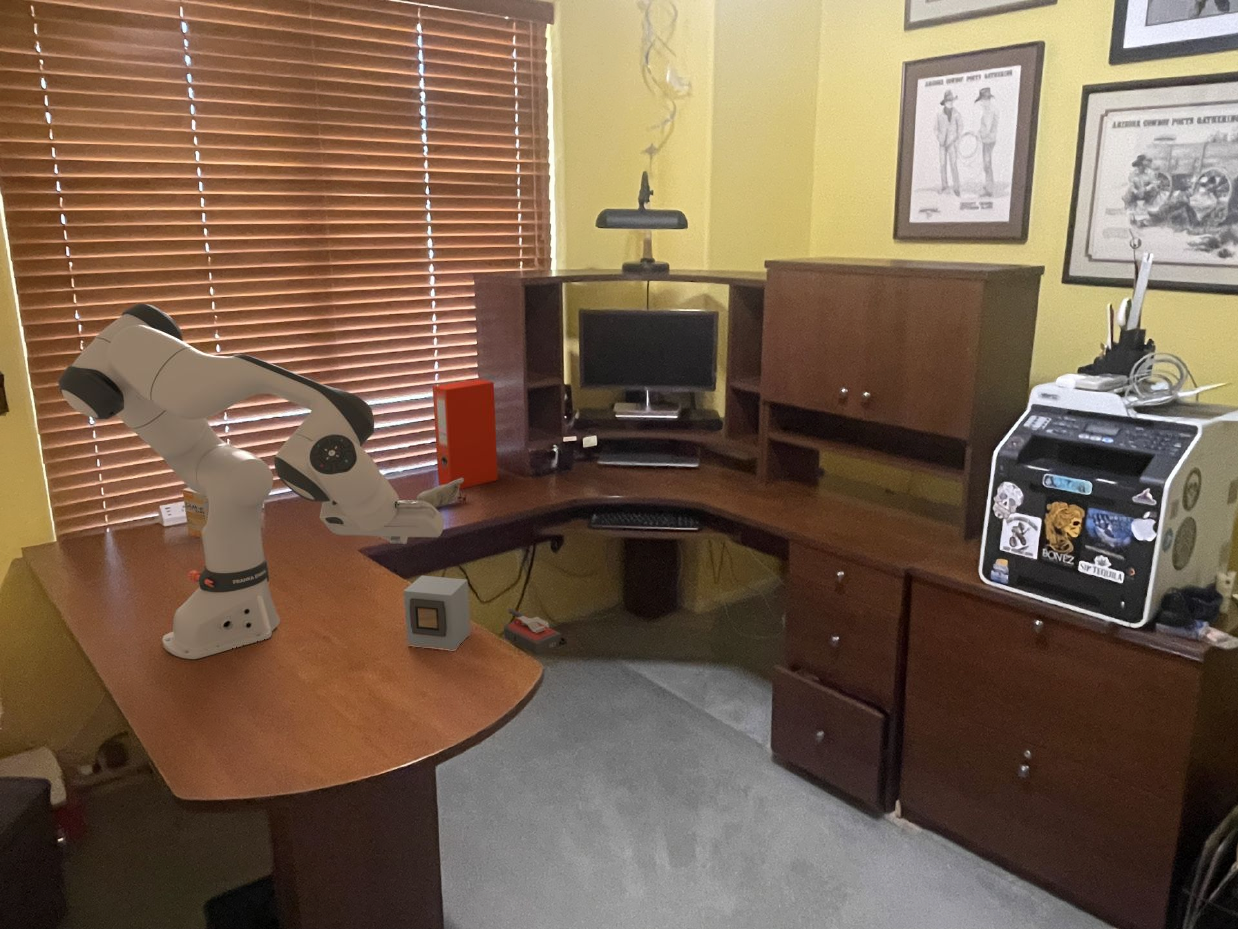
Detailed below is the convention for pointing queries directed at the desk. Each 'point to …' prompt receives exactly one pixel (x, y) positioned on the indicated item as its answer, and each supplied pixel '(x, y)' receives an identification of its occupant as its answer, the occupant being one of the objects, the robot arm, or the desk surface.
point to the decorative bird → (442, 494)
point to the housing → (451, 611)
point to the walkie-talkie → (532, 634)
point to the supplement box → (195, 511)
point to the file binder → (465, 432)
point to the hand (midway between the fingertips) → (399, 539)
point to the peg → (428, 617)
